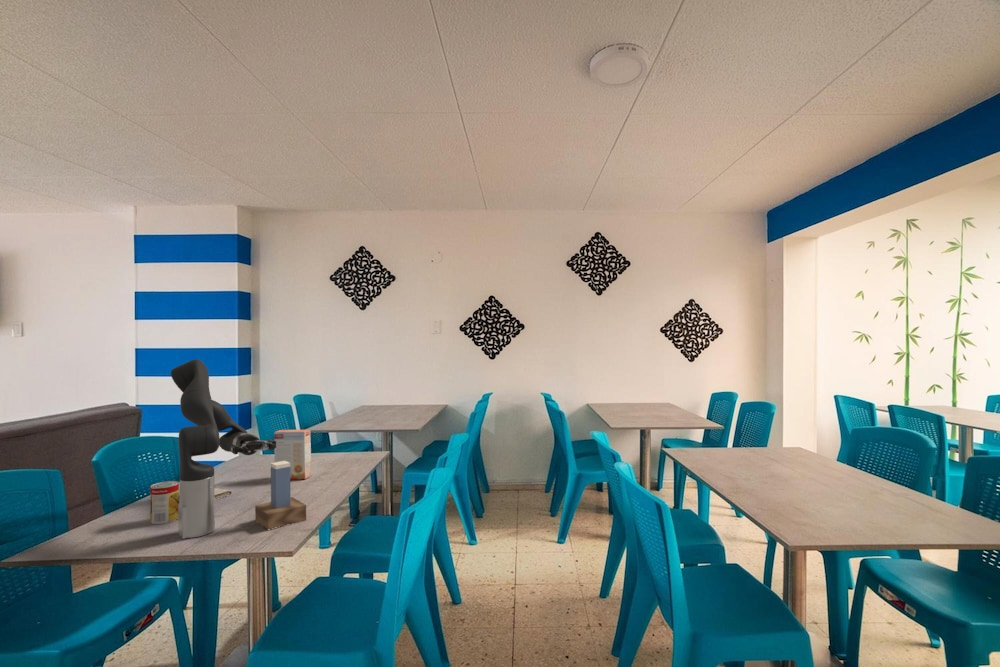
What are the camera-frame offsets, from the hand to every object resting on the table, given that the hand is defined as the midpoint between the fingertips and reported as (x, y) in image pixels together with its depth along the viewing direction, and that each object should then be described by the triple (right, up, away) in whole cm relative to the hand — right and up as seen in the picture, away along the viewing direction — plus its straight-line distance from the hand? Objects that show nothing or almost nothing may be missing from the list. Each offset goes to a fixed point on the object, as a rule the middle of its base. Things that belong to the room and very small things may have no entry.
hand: (260, 449), depth 171 cm
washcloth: (-29, -23, +11) cm, 38 cm away
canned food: (-28, -22, -9) cm, 36 cm away
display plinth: (+13, -21, -12) cm, 27 cm away
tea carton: (+12, -16, -11) cm, 23 cm away
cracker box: (-5, -22, +39) cm, 46 cm away
